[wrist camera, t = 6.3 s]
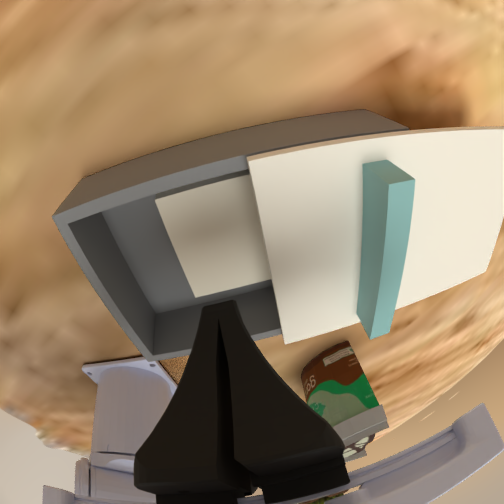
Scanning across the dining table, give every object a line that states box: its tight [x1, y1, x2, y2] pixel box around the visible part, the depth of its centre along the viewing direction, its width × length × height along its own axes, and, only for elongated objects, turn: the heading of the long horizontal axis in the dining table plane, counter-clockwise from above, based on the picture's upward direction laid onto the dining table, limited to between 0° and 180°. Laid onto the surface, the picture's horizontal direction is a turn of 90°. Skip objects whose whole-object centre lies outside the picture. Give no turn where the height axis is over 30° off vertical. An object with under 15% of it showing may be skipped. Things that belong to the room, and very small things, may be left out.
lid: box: [246, 126, 504, 344], centre depth 13 cm, size 11×16×2 cm
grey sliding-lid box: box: [52, 109, 409, 362], centre depth 16 cm, size 11×16×4 cm
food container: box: [301, 341, 389, 462], centre depth 26 cm, size 12×6×10 cm, turn 10°
